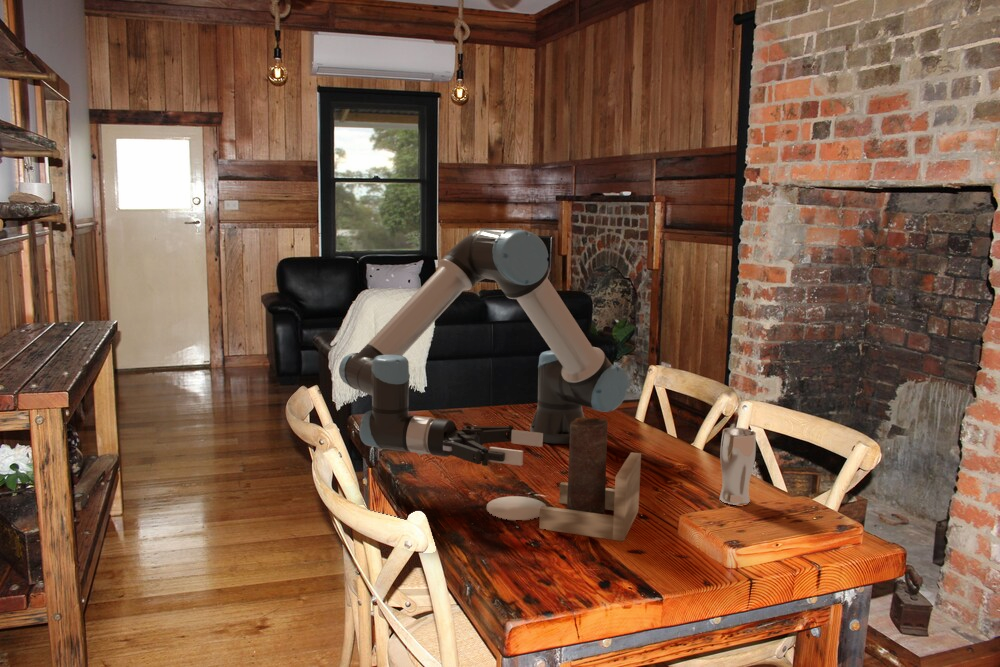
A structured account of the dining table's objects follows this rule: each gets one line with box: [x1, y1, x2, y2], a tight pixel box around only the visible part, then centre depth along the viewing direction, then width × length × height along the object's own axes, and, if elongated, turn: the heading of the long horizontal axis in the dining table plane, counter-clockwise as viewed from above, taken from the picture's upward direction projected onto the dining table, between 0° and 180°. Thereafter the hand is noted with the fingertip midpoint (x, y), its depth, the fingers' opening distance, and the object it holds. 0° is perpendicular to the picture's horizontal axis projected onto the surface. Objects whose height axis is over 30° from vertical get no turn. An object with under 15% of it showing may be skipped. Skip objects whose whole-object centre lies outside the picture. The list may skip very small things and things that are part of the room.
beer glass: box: [719, 427, 757, 505], centre depth 172 cm, size 7×7×15 cm
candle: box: [566, 416, 608, 515], centre depth 160 cm, size 8×7×20 cm
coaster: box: [486, 495, 547, 521], centre depth 166 cm, size 12×12×1 cm
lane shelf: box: [538, 451, 642, 542], centre depth 160 cm, size 16×16×12 cm
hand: (532, 448), depth 163 cm, fingers open, 13 cm apart
